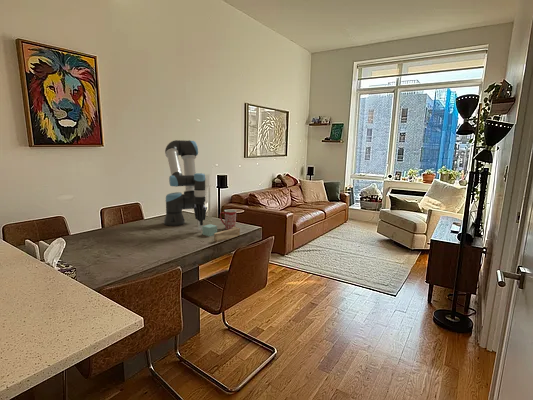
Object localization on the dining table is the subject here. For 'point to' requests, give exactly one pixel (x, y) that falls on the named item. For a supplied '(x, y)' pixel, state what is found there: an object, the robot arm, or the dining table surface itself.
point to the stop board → (227, 234)
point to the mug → (229, 218)
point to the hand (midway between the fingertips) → (200, 229)
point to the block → (209, 230)
